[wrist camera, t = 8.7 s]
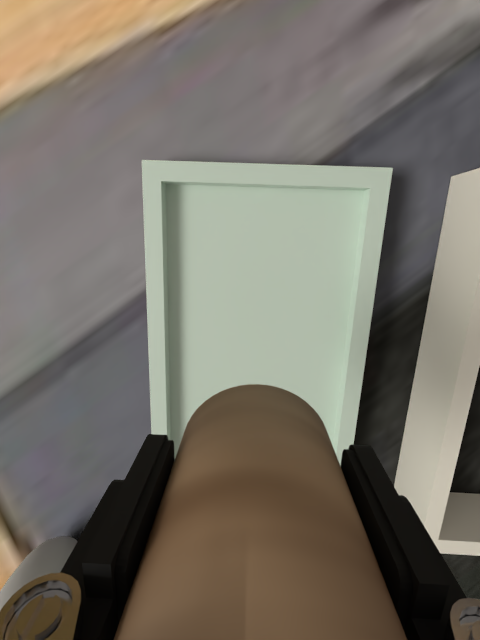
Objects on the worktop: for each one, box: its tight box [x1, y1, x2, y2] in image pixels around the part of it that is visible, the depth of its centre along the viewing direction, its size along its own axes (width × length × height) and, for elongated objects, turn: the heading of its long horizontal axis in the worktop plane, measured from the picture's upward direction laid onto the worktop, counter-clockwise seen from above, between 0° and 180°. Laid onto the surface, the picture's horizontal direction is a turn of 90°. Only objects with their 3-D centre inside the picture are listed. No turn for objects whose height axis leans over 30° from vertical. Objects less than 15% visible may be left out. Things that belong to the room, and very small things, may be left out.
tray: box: [142, 160, 393, 466], centre depth 20 cm, size 22×13×2 cm, turn 178°
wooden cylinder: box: [114, 384, 407, 640], centre depth 7 cm, size 5×5×8 cm
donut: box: [0, 536, 78, 610], centre depth 21 cm, size 10×4×10 cm, turn 167°
